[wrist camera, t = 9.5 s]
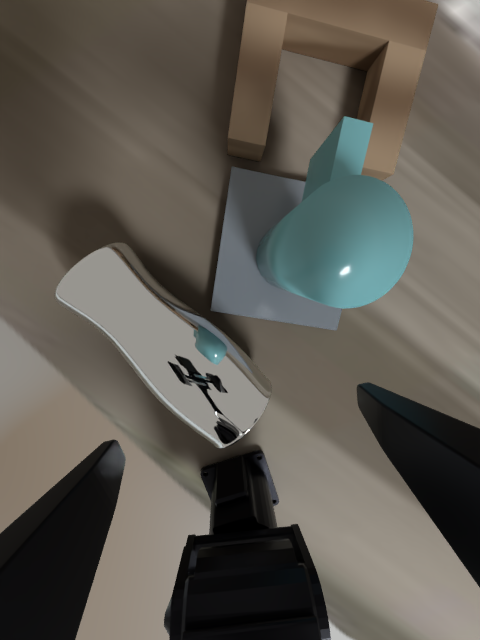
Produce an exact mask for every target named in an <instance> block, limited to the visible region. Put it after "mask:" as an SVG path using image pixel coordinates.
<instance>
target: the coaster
mask: <svg viewBox="0 0 480 640" xmlns="http://www.w3.org/2000/svg"><path fill="white" fill-rule="evenodd" d="M305 183H306V182H303V181H299V180H294V179H289V178H284V177H280V176H275V175H270V174H265V173H260V172H256V171H251V170H246V169H241V168H237V167H232V169H231V175H230V182H229V189H228V196H227V203H226V209H225V216H224V223H223V230H222V237H221V244H220V250H219V257H218V264H217V271H216V278H215V284H214V291H213V298H212V305H211V311H215V312H221V313H228V314H234V315H241V316H247V317H254V318H260V319H266V320H273V321H279V322H286V323H292V324H299V325H305V326H311V327H318V328H324V329H331V330H337V327H338V323H339V319H340V315H341V311H342V308H335V307H331V306H328V305H325V304H322V303H319V302H316V301H313V300H310V299H308V298H305V297H302V296H299V295H296V294H293V293H291V292H288V291H285V290H282V289H279V288H276V287H274V286H272V285H270V284H269V283H268V282H267V281H266V280H265V279H264V278H263V277H262V276H261V274H260V272H259V270H258V267H257V262H256V253H257V248H258V245H259V242H260V241H261V239H262V237H263V236H264V235H265V234H266V232H268V231H269V230H270V229H271V228H272V227H273V226H274V225H276V224H277V223H278V222H279V221H280V220H281V219H283V218H284V217H285V216H286V215H287V214H288V213H290V212H291V211H292V210H293V209H294V208H295V207H297V206H298V205H299V204H300V203H301V202H302V197H303V192H304V187H305Z"/></svg>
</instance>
